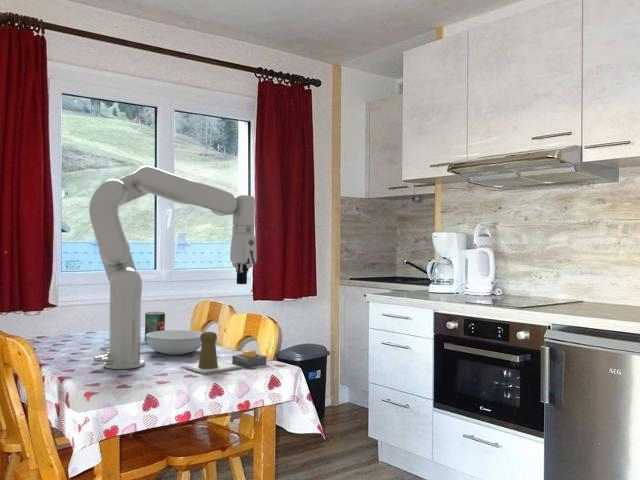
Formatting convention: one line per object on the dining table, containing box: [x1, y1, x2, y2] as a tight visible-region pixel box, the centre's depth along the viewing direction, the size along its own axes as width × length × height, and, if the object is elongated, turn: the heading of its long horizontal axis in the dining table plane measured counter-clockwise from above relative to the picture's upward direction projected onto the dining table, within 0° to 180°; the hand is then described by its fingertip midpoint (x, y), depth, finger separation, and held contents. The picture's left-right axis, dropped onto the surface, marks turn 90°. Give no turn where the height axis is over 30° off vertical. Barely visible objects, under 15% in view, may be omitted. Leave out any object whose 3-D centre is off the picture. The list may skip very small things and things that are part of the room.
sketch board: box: [185, 361, 243, 376], centre depth 187 cm, size 14×11×1 cm
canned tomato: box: [144, 311, 166, 342], centre depth 240 cm, size 8×8×11 cm
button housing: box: [231, 353, 267, 369], centre depth 195 cm, size 8×8×3 cm
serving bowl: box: [146, 329, 203, 356], centre depth 213 cm, size 21×21×7 cm
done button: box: [242, 349, 257, 358], centre depth 195 cm, size 4×4×3 cm
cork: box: [198, 331, 218, 369], centre depth 186 cm, size 6×6×11 cm
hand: (241, 283), depth 204 cm, fingers closed
